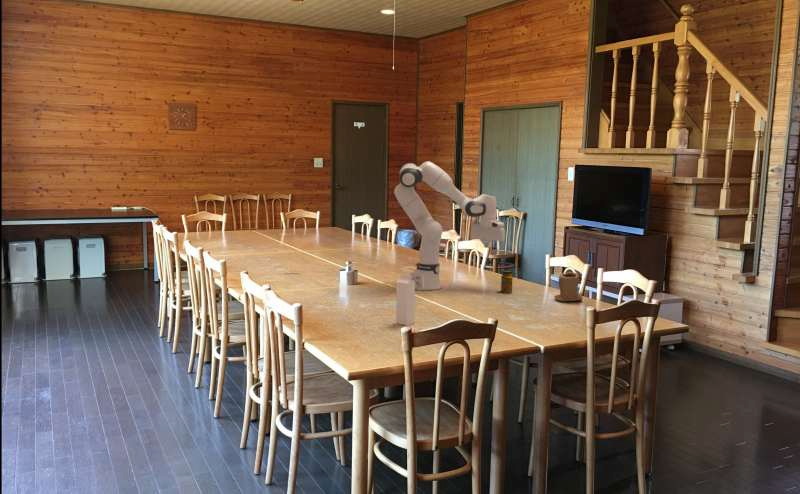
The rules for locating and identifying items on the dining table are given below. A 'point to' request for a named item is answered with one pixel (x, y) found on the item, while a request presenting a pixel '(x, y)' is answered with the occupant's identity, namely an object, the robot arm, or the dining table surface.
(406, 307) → the milk
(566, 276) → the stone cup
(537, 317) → the dining table surface
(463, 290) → the dining table surface
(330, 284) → the dining table surface
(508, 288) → the condiment
